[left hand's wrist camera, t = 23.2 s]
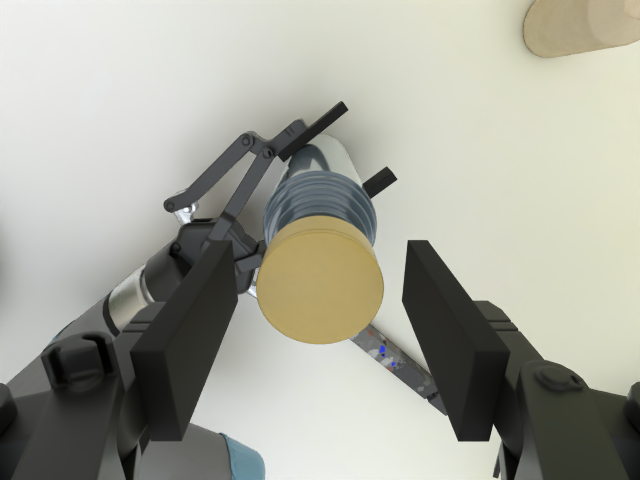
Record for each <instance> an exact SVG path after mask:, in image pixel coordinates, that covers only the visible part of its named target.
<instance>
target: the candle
mask: <svg viewBox="0 0 640 480" xmlns="http://www.w3.org/2000/svg"><path fill="white" fill-rule="evenodd" d="M523 34H524V40H525V43H526V45H527V47H528V48H529V49H530V50H531V51H532V52H533V53H534V54H536V55H538V56H541V57H546V58H552V57H559V56H565V55H571V54H577V53H583V52H589V51H595V50H601V49H607V48H613V47H619V46H625V45H628V44H632V43H634V42H636V41H638V40H640V0H536V1H535V2H534V3H533V5H532V6H531V8H530V9H529V11H528V13H527V15H526V18H525V22H524V28H523Z"/></svg>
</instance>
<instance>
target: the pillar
mask: <svg viewBox="0 0 640 480" xmlns="http://www.w3.org/2000/svg"><path fill="white" fill-rule="evenodd" d="M349 339H350V340H352V341H353V342H354V343H355V344H357V345H358V346H359V347H360V348H362V349H363V350H364V351H365V352H367V353H368V354H369V355H370V356H372V357H373V358H374V359H375V360H377V361H378V362H379V363H380V364H382V365H383V366H384V367H385V368H387V369H388V370H389V371H390V372H392V373H393V374H394V375H395V376H397V377H398V378H399V379H400V380H402V381H403V382H404V383H405V384H407V385H408V386H409V387H410V388H412V389H413V390H414V391H415V392H417V393H418V394H419V395H420V396H422V397H423V398H424V399H426V398H427V399H428V402H429V403H430V404H432V405H433V406H434V407H435V408H437V409H438V410H439V411H440V412H442V413H443V414H444V415H445V416H446V415H447V412H446V410H445V407H444V405H443V402H442V400H441V397H440V395H439V392H438V390H437V387H436V385H435V382H434V380H433V377H430V375H429V373H428V372H426V371H425V370H424V369H423V368H422V367H420V366H419V365H418V364H417V363H416V362H414V361H413V360H412V359H411V358H410V357H408V356H407V355H406V354H405V353H404V352H402V351H401V350H400V349H399V348H398V347H396V346H395V345H394V344H393V343H392V342H390V341H389V340H388V339H387V338H386V337H384V336H383V335H382V334H381V333H380V332H378V331H377V330H376V329H375V328H373V327H372V326H371V325H370V324H368V325H367V326H366V327H365V328H364V329H363V330H362V331H360V332H359V333H357V334H356V335H354V336H352V337H350V338H349Z"/></svg>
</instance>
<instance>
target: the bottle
mask: <svg viewBox="0 0 640 480" xmlns="http://www.w3.org/2000/svg"><path fill="white" fill-rule="evenodd" d="M310 216H330V217H335V218H338V219H341V220H344V221H346V222H348V223H350V224H352V225H353V226H355V227H356V228H357V229H359V230H360V231H361V232H362V233H363V234H364V235H365V237H366V238H367V239H368V241H369V242H370V244H371V246H372V248H373V245H374V242H375V237H376V228H377V220H376V213H375V209H374V207H373V204H372V202H371V200H370V198H369V195H368V193H367V191H366V189H365V187H364V185H363V183H362V181H361V179H360V177H359V175H358V173H357V171H356V169H355V167H354V165H353V163H352V161H351V159H350V157H349V155H348V153H347V151H346V149H345V147H344V146H343V145H342V144H341V142H339V141H338V140H337V139H335V138H334V137H332V136H329V135H325V134H318V135H317V136H316V137H314V138H313V139H312V140H311V141H309V142H308V143H307V144H306V145H304V146H303V147H302V148H301V149H300V150H298V151H297V152H296V153H295V154H293V155H292V156H291V157H290V159H289V161H288V163H287V165H286V167H285V169H284V171H283V173H282V175H281V177H280V179H279V181H278V183H277V185H276V187H275V189H274V191H273V193H272V195H271V197H270V199H269V201H268V203H267V206H266V209H265V212H264V217H263V231H264V238H265V243H266V246H267V247H268V245H269V243H270V242H271V240H272V239H273V237H274V236H275V235H276V234H277V233H278V232H279V231H280V230H281V229H282V228H284V227H285V226H286V225H288V224H290V223H292V222H294V221H296V220H299V219H301V218H305V217H310Z"/></svg>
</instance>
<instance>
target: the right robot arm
mask: <svg viewBox="0 0 640 480" xmlns="http://www.w3.org/2000/svg"><path fill="white" fill-rule="evenodd" d="M346 111H348V108H347V107H346V106H345V104H344V103H343V102H342V101H340V102H339V103H338V104H337V105H336V106H334V107H333V108H332V109H331V110H329V111H328V112H327V113H326V114H325V115H323V116H322V117H321V118H320V119H318V120H317V121H316V122H315V123H314V124H312V125H311V126H310V127H308V126H307V125H306V124H305V122H304V121H303V120H302V118H301V119H298V120H295V121H294V122H293V123H292V124H290V125H289V126H288V127H287V128H286V129H284V130H283V131H282V132H281V133H280V134H278V135H277V136H276V137H275V138H273V139H271V140H265V139H263V138H262V137H260V136H258V135H257V134H256V133H255V132H254V131H248V132H246V133H244V134H242V135H241V136H240V137H239V138H238V139H237V140H236V141H235V142H234V143H233V144H232V145H231V146H230V147H229V148H228V149H227V150H226V151H225V152H224V153H223V154H222V155H221V156H220V157H219V158H218V159H217V160H216V161H215V162H214V163H213V164H212V165H211V166H210V167H209V168H208V169H207V170H206V171H205V172H204V173H203V174H202V175H201V176H200V177H199V178H198V179H197V180H196V181H195V182H194V183H193V184H192V185H191V186H190V187H189V188H187V189H185V190H182V191H180V192H177V193H176V194H175V195H173V196H171V197H170V198H169V199H167V200H166V201H165V202H164V208H165V210H166V211H168V212H171V213H172V212H174V214H175V216H176V217H177V219H178V221H179V223H180V224H181V228H180V229H179V232H178V235H177V237H176V238H175V239H174V240H173V241H171V242H170V243H169V244H168V245H167V246H165V247H164V248H163V249H162V250H160V251H159V252H158V253H157V254H156V255H154V256H153V257H152V258H151V259H150V260H149V261H148V262H147V264H144V265H142V266H141V267H140V268H139V269H137V270H136V271H135V272H134V273H132V274H131V275H130V276H129V277H128V278H126V279H125V280H124V281H123V282H121V283H120V284H119V285H118V286H117V287H115V288H114V290H112V291H111V292H110V293H109V294H108V295H107V296H106V297H104V298H103V299H102V300H101V301H99V302H98V303H97V304H95V305H94V306H93V307H91V308H90V309H89V310H88V311H86V312H85V313H84V314H83V315H81V316H80V317H79V318H78V319H76V320H74V321H73V322H71V323H70V324H69V325H67V326H66V327H65V328H64V329H63V330H61V331H60V332H59V333H58V334H57V335H56V336H55V337H54V338H53V340H52V341H51V342H50V343H49V344H48V345H47V347H46V348H45V349H44V350H43V352H42V353H41V354H40V355H39V356H38V357H37V358H36V359H35V360H33V361H32V362H31V363H30V364H29V365H28V366H27V367H25V368H24V369H23V370H22V371H21V372H20V373H19V374H18V375H16V376H15V377H14V378H13V379H12V380H11V381H10V382H8V383H7V384H6V386H7V387H9V389H10V391H11V394H12V396H13V398H17V397H22V396H26V395H31V394H35V393H40V392H44V391H48V390H51V385H50V383H49V380H48V377H47V374H46V372H45V369H44V366H43V363H42V360H41V358H40V356H41V355H42V354H43V353H44V352H45V351H46V349H47V348H49V347H50V346H52V345H53V344H55V343H56V342H58V341H60V340H62V339H64V338H66V337H69V336H71V335H75V334H78V333H82V332H89V331H100V332H106V333H107V334H109V335H110V336H111V337H112V341H114V339H115V338H116V337H117V336H118V335H119V333H122V330H123V329H124V328H125V326H126V325H127V324H129V323H130V320H131V319H132V318H133V317H134V316H135V315H136V313H137V312H138V311H139V310H141V309H142V308H144V307H146V306H147V305H149V304H150V303H152V302H167V301H168V299H169V298H170V297H171V295H172V294H173V293H174V291H175V290H176V289H177V287H178V286H179V285H180V283H181V282H182V281H183V279H184V278H185V277H186V275H187V274H188V273H189V271H190V270H191V268H192V267H193V266H194V264H195V263H196V262H197V260H198V259H199V258H200V256H201V255H202V254H203V252H204V251H205V250H206V248H207V247H208V246H209V244H210V243H211V242H212V240H232V244H233V254H234V265H235V275H236V285H237V295H238V294H243V293H245V292H247V293H248V294H250V295H251V296H253V297H255V298H256V299H257V295H256V281H253V277H254V273H255V269H256V268H258V267H260V266H261V264H262V261H263V258H264V255H265V252H266V250H267V246H266V243H265V240H262V241H259V242H255V240H254V239H253V238H251V237H250V236H248V235H247V234H246V233H245V232H244V230H243V228H242V226H241V225H240V224H239V223H238V222H237V221H236V219H237V217H238V215H239V214H240V212H241V210H242V209H243V207H244V206H245V204H246V202H247V201H248V199H249V198H250V196H251V194H252V193H253V191H254V190H255V188H256V186H257V185H258V183H259V182H260V180H261V178H262V177H263V175H264V174H265V172H266V170H267V169H268V167H269V166H270V164H271V162H272V161H273V159H274V158H275V157H276V156H277V155H278V156H279V157H280V159H281V160H282V161H283V162H285V161H286V160H287V159H288V158H290V157H291V156H292V155H293V154H295V153H296V152H297V151H298V150H300V149H301V148H302V147H303V146H304V145H306V144H307V143H308V142H309V141H311V140H312V139H313V138H314V137H316V136H317V135H318V134H319V133H321V132H322V131H323V130H324V129H325V128H327V127H328V126H329V125H330V124H332V123H333V122H334V121H335V120H337V119H338V118H339V117H340V116H342V115H343V114H344V113H345V112H346ZM248 151H251V152H253V153H254V154H256V155H257V157H256V158H255V160H254V162H253V163H252V165H251V167H250V168H249V170H248V172H247V173H246V175H245V177H244V178H243V180H242V181H241V183H240V185H239V186H238V188H237V190H236V191H235V193H234V195H233V196H232V198H231V200H230V201H229V203H228V205H227V206H226V208H225V210H224V211H223V213H222V214H221V216H220V217H219V218H205V219H194V217H193V214H194V212H195V211H196V210H197V209H198V207H199V204H198V201H197V200H198V199H199V198H201V197H202V196H203V195H204V194H205V193H207V192H208V191H209V190H210V189H211V188H212V187H213V186H214V185H215V184H216V183H217V182H218V181H219V180H220V179H221V178H222V177H223V176H224V175H225V174H226V173H227V172H228V171H229V170H230V169H231V168H232V167H233V166H234V165H235V164H236V163H237V162H238V161H239V160H240V159H241V158H242V157H243V156H244V155H245V154H246V153H247V152H248ZM396 180H397V178H396V177H395V175H394V174H393V172H392V171H391V170H390V169H389V168H388V167H387V166H386V167H385V168H384V169H382V170H381V171H380V172H378V173H377V174H376V175H374V176H373V177H372V178H370V179H369V180H368V181H366V182H365V183H364V184H363V185H364V187H365V189H366V191H367V193H368V195H369V198H370V199H371V198H373V197H374V196H375V195H377V194H378V193H379V192H381V191H382V190H384V189H385V188H386V187H388V186H389V185H391V184H392V183H393V182H395V181H396ZM139 445H140V450H141V463H140V473H139V480H265V464H264V461H263V458H262V457H261V455H260V454H259V453H258V452H257V451H255V450H253V449H251V448H249V447H247V446H245V445H243V444H241V443H239V442H237V441H235V440H234V439H232V438H230V437H228V436H227V435H225V434H223V433H215V432H212V431H210V430H207V429H205V428H202V427H199V426H197V425H194V424H191V423H189V424H188V427H187V429H186V432H185V434H184V437H183V439H182V441H151V439H150V435H149V431H148V427H147V426H146V428H145V429H144V431H143V433H142V435H141V437H140V439H139Z"/></svg>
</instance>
